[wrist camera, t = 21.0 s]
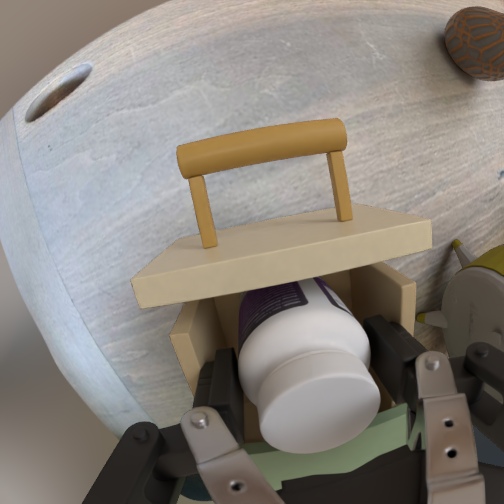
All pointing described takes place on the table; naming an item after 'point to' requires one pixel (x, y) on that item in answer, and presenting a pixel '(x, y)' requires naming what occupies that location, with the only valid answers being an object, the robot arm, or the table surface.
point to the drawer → (278, 251)
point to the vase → (477, 42)
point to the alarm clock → (472, 304)
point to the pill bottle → (305, 366)
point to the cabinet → (332, 451)
